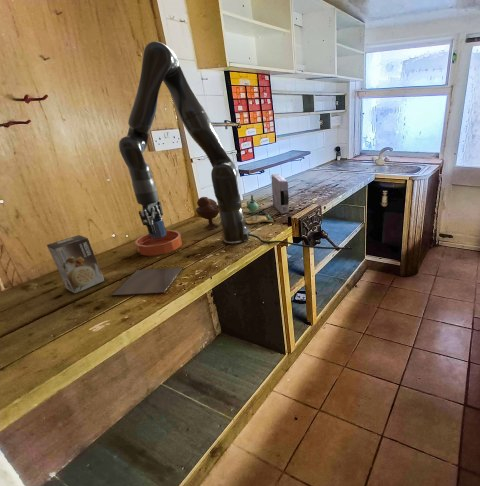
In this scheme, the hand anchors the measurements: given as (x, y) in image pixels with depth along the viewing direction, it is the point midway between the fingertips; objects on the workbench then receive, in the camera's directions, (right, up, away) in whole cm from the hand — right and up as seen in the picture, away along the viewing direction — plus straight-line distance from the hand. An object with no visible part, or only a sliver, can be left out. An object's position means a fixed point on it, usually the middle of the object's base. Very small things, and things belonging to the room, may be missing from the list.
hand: (156, 230), depth 127 cm
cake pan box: (+44, +14, +46) cm, 65 cm away
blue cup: (0, -2, +1) cm, 3 cm away
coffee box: (-11, -19, -23) cm, 32 cm away
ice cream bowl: (+14, +3, +24) cm, 28 cm away
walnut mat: (+10, -18, -22) cm, 30 cm away
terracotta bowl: (0, -7, +3) cm, 8 cm away
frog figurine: (+34, +5, +28) cm, 45 cm away
